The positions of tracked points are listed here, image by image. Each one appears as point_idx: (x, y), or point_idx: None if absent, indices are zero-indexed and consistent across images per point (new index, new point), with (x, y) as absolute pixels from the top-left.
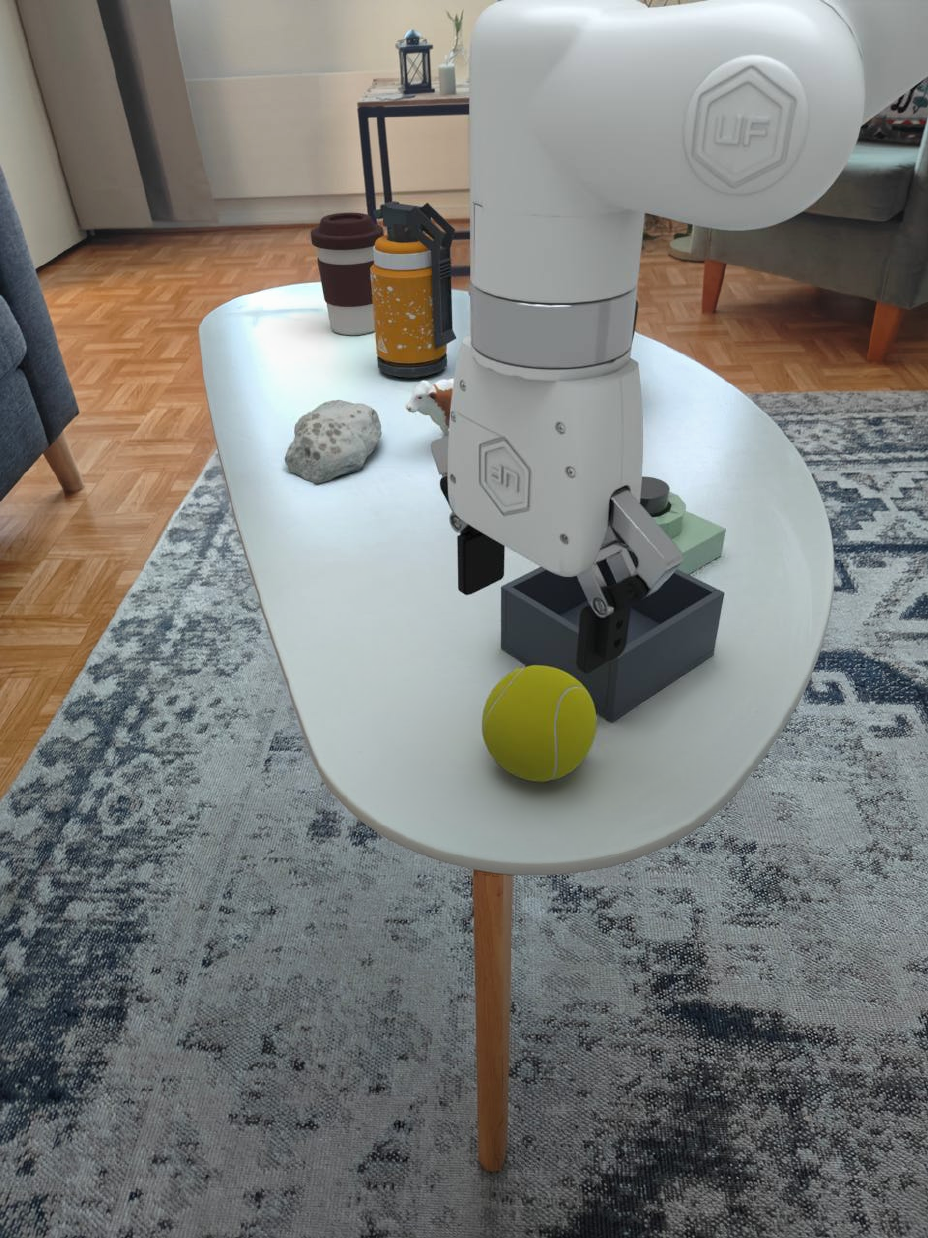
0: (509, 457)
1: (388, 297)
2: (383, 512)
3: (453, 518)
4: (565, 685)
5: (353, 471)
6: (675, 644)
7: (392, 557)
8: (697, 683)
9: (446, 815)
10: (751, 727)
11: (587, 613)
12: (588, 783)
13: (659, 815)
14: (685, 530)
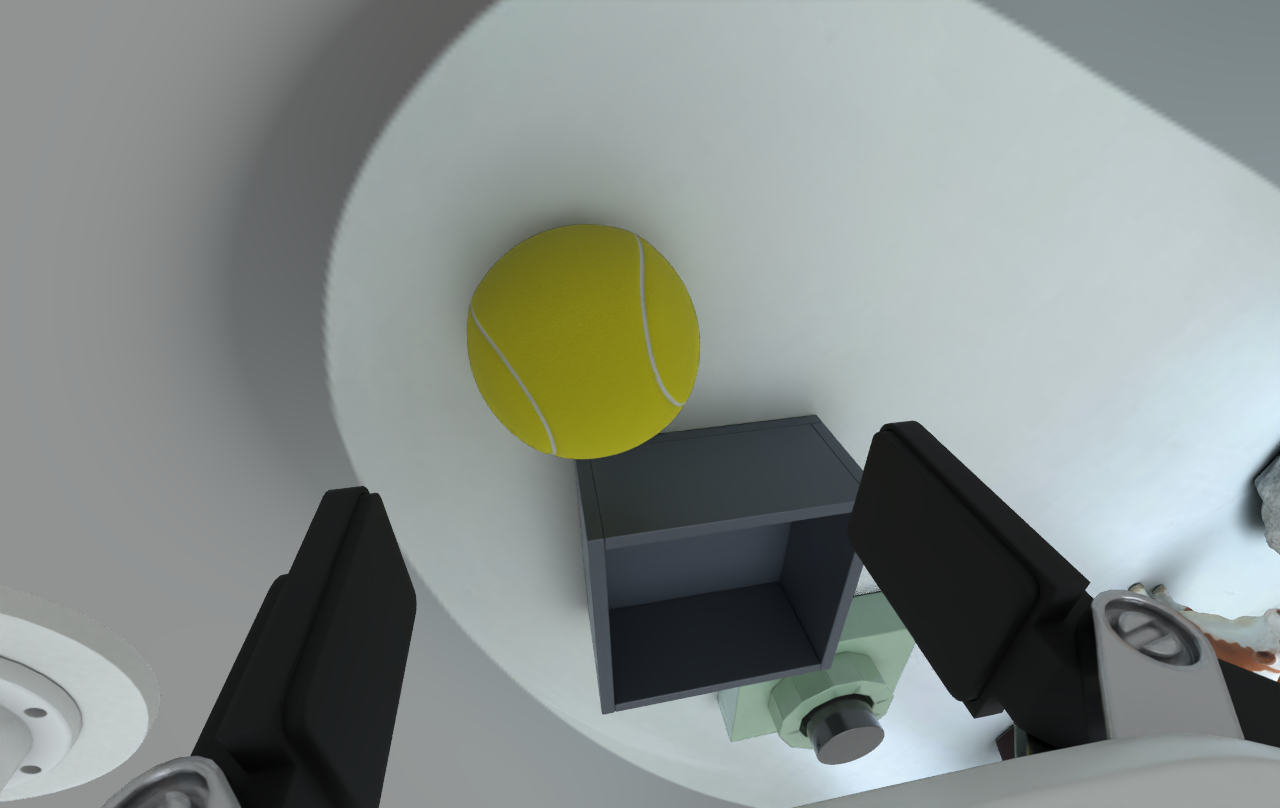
0: None
1: None
2: (1166, 454)
3: (1174, 634)
4: (556, 431)
5: (1263, 472)
6: (590, 606)
7: (1095, 407)
8: (560, 569)
9: (575, 70)
10: (447, 572)
11: (230, 735)
12: None
13: (362, 381)
14: (767, 712)
